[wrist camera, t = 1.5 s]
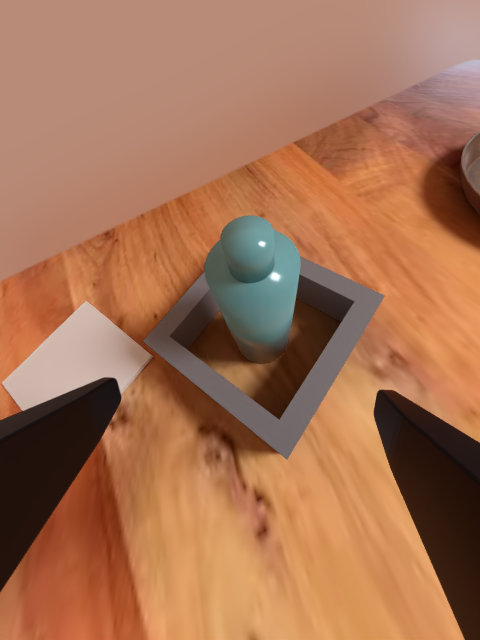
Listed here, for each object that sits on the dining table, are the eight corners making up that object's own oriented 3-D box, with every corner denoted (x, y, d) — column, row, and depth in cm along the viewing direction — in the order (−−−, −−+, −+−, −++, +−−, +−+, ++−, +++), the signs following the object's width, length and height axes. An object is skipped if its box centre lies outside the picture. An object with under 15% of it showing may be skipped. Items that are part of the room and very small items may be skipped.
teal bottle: (269, 374, 21) (261, 304, 9) (225, 343, 23) (170, 251, 11) (299, 330, 22) (327, 218, 10) (256, 304, 24) (236, 183, 12)
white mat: (64, 461, 20) (60, 461, 20) (5, 383, 24) (1, 383, 24) (153, 356, 23) (151, 355, 23) (88, 302, 27) (85, 300, 26)
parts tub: (285, 453, 18) (287, 459, 15) (163, 354, 23) (142, 341, 19) (366, 317, 22) (384, 295, 18) (246, 256, 26) (242, 229, 23)
